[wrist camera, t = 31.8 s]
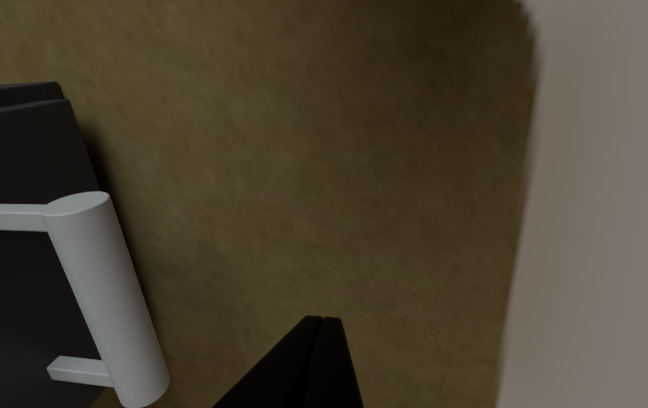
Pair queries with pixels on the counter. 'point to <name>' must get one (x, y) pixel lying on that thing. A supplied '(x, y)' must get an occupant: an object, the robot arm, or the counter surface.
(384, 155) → the counter surface
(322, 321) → the robot arm
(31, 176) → the pulled-out drawer
